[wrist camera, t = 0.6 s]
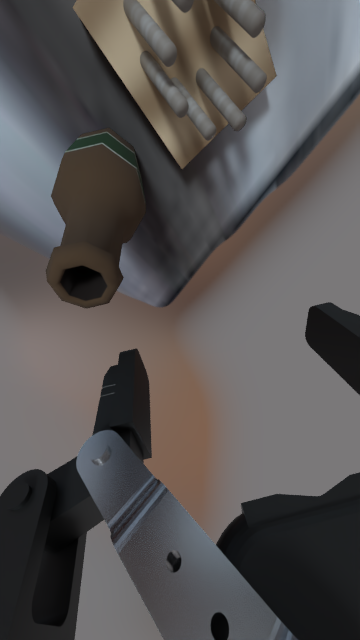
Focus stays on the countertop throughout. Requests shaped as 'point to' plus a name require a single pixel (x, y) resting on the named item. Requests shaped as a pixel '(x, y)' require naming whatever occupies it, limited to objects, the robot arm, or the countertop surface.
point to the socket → (184, 62)
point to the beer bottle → (95, 217)
